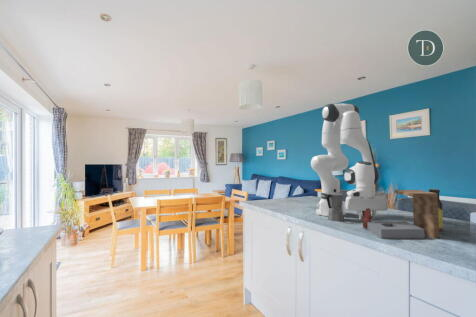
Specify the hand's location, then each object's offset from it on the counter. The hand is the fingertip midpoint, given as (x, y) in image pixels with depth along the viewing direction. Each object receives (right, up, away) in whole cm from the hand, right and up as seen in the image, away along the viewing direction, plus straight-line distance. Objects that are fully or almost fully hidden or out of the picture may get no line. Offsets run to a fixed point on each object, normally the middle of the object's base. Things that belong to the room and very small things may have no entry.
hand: (366, 219), depth 126 cm
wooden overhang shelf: (+16, -3, -14) cm, 21 cm away
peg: (0, -4, 0) cm, 4 cm away
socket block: (+6, -4, -13) cm, 14 cm away
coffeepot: (-9, -5, +18) cm, 21 cm away
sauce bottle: (+28, -3, -9) cm, 30 cm away
